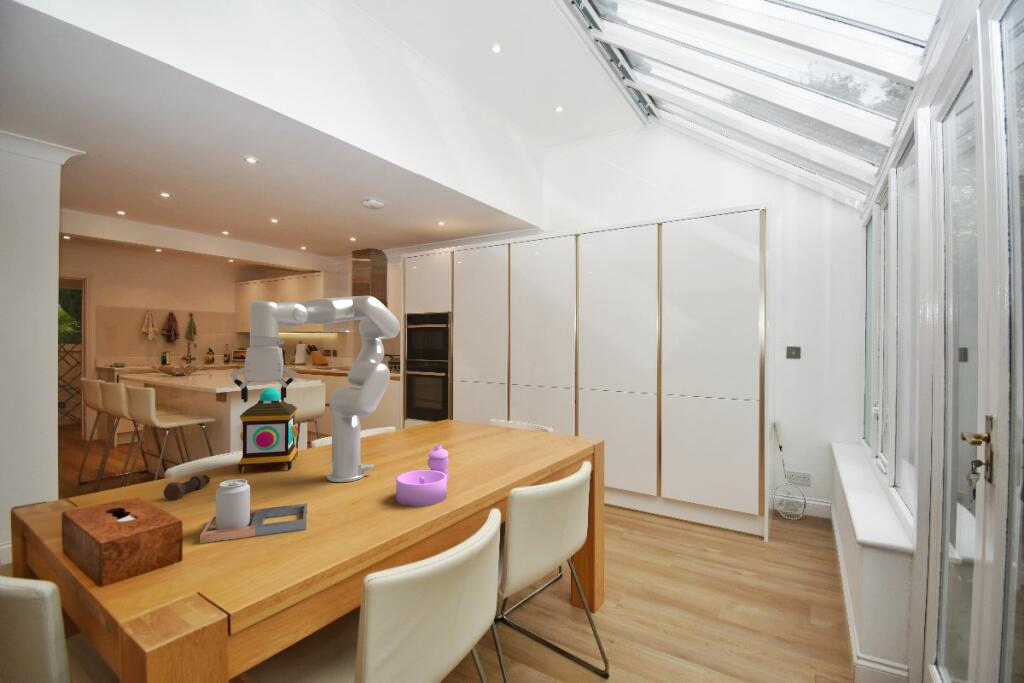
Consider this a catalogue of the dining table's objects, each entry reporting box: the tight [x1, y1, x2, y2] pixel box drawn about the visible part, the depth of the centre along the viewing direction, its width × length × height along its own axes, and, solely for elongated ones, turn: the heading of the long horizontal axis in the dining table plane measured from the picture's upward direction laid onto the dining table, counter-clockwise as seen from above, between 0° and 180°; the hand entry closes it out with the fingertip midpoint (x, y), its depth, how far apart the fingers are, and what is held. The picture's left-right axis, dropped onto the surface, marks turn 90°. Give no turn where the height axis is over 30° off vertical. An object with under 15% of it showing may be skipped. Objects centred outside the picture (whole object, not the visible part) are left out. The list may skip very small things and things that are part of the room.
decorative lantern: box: [237, 386, 299, 474], centre depth 177 cm, size 20×20×30 cm
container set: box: [395, 444, 450, 507], centre depth 149 cm, size 25×15×13 cm, turn 167°
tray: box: [199, 503, 308, 544], centre depth 122 cm, size 23×14×2 cm, turn 113°
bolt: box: [163, 474, 211, 501], centre depth 147 cm, size 6×5×15 cm
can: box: [215, 478, 251, 530], centre depth 119 cm, size 8×8×12 cm
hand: (264, 401), depth 138 cm, fingers open, 9 cm apart
